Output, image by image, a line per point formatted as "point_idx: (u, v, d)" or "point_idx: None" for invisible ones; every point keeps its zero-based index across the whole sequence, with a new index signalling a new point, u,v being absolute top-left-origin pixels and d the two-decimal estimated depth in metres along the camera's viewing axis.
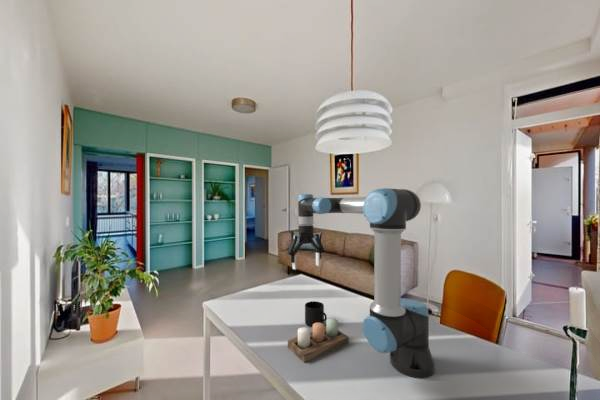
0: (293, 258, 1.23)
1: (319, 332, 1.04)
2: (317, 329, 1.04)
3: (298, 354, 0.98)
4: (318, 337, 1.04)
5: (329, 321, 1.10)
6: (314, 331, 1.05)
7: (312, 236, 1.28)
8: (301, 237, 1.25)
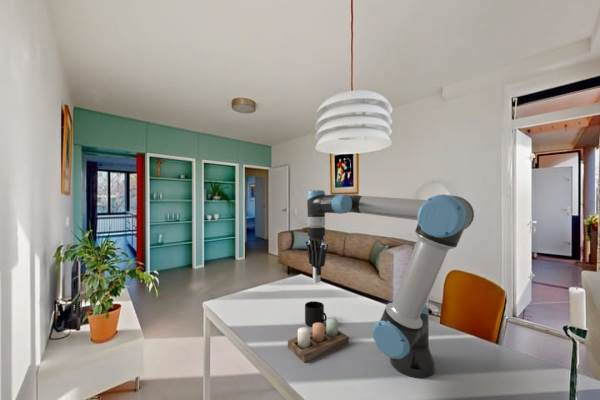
0: None
1: (319, 332, 1.04)
2: (317, 329, 1.04)
3: (298, 354, 0.98)
4: (318, 337, 1.04)
5: (329, 321, 1.10)
6: (314, 331, 1.05)
7: (318, 241, 1.05)
8: (310, 240, 1.10)
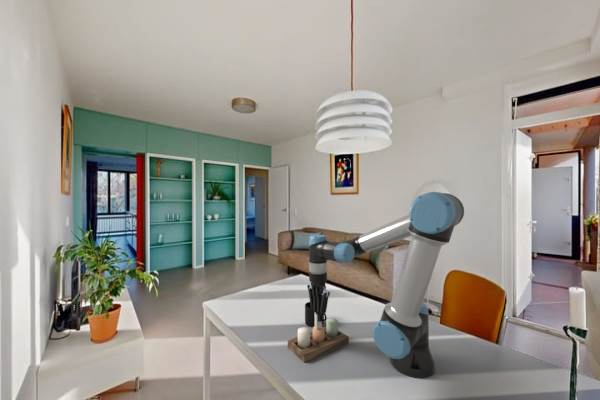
0: (314, 314, 1.07)
1: (319, 336, 1.04)
2: (317, 332, 1.04)
3: (298, 354, 0.98)
4: (318, 341, 1.04)
5: (329, 321, 1.10)
6: (314, 334, 1.05)
7: (320, 288, 1.04)
8: (311, 284, 1.09)
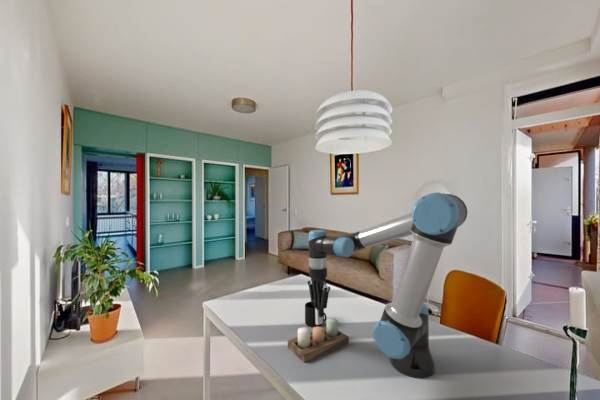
0: None
1: (319, 336, 1.04)
2: (317, 333, 1.04)
3: (298, 354, 0.98)
4: (318, 341, 1.04)
5: (329, 321, 1.10)
6: (314, 335, 1.05)
7: (320, 283, 1.04)
8: (312, 280, 1.09)
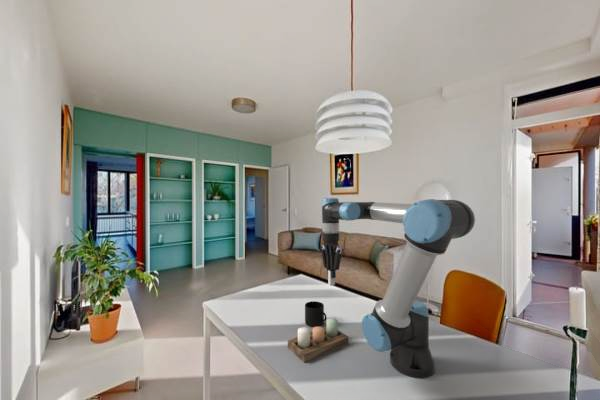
0: (328, 272, 1.14)
1: (319, 336, 1.04)
2: (317, 333, 1.04)
3: (298, 354, 0.98)
4: (318, 341, 1.04)
5: (329, 321, 1.10)
6: (314, 335, 1.05)
7: (333, 246, 1.11)
8: (324, 245, 1.16)
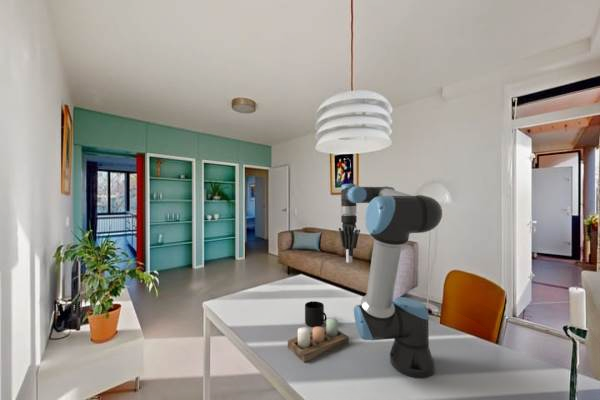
0: (346, 251, 1.27)
1: (319, 336, 1.04)
2: (317, 333, 1.04)
3: (298, 354, 0.98)
4: (318, 341, 1.04)
5: (329, 321, 1.10)
6: (314, 335, 1.05)
7: (351, 227, 1.24)
8: (343, 226, 1.29)
